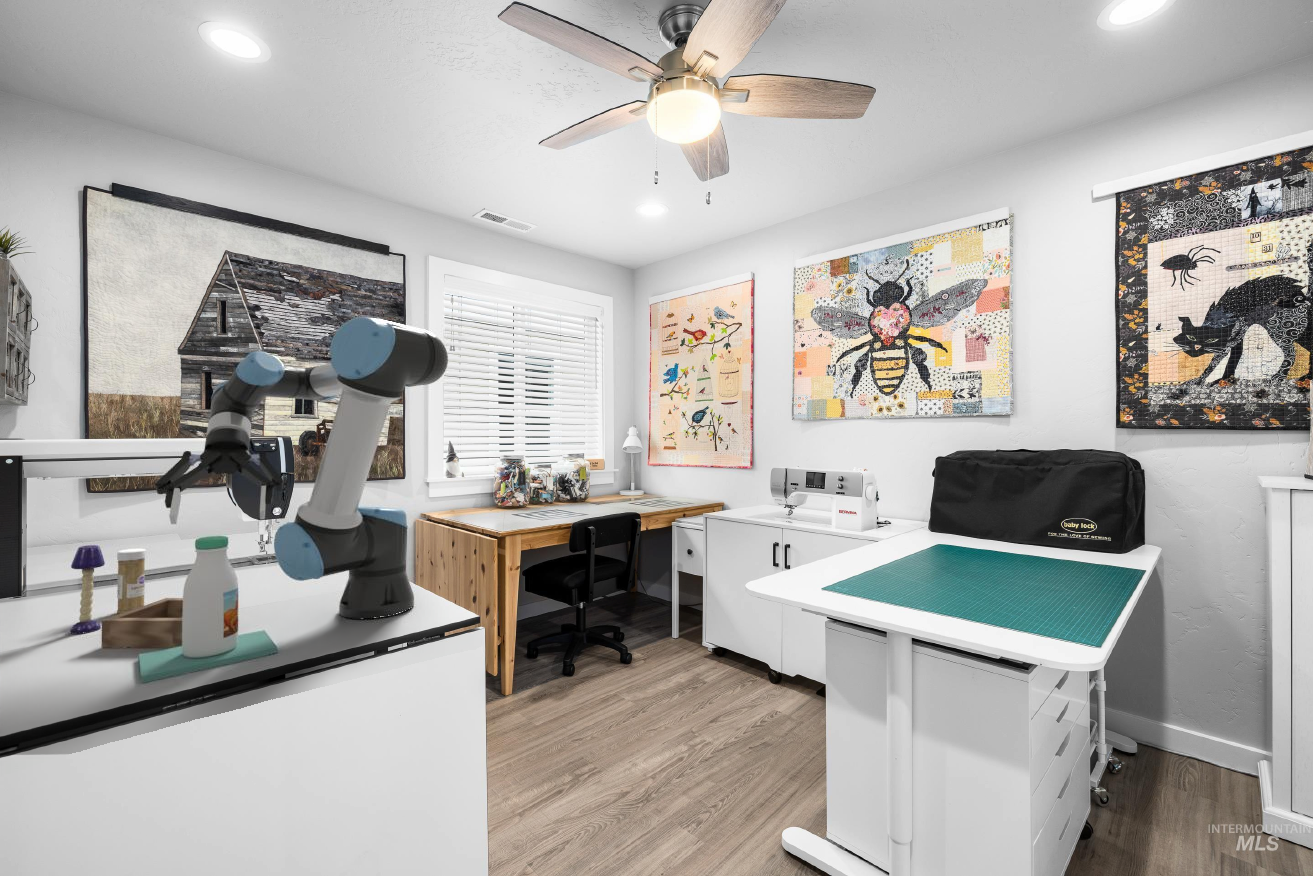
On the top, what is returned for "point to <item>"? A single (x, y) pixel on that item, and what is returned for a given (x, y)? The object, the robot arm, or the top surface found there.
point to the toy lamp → (87, 585)
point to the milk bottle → (210, 601)
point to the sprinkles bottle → (131, 579)
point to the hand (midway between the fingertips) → (219, 517)
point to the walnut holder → (146, 626)
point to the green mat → (177, 663)
